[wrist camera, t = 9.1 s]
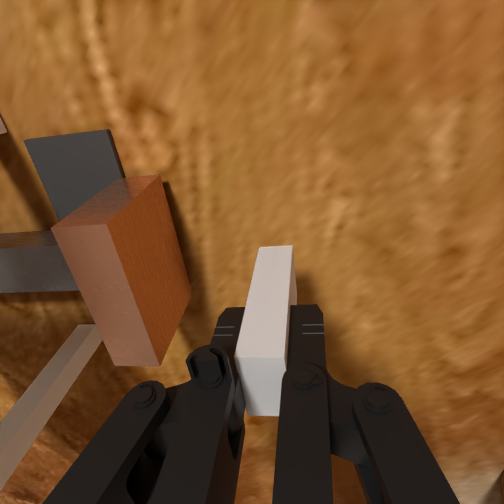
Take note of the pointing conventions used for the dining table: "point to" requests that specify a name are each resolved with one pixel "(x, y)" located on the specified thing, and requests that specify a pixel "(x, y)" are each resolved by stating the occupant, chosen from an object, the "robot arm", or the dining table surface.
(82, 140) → the white mini stool
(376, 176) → the dining table surface
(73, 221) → the long-handled tray
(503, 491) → the plant pot
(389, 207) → the dining table surface
